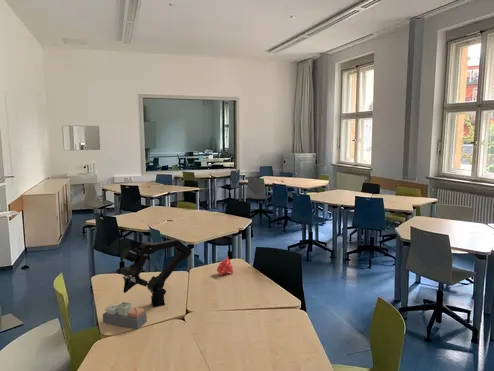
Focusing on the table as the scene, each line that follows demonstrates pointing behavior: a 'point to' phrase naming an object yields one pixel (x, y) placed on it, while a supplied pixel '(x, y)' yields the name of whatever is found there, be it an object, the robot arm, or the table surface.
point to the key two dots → (124, 308)
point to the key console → (125, 320)
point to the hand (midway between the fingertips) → (124, 292)
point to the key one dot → (111, 309)
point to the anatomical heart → (225, 267)
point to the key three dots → (135, 312)
